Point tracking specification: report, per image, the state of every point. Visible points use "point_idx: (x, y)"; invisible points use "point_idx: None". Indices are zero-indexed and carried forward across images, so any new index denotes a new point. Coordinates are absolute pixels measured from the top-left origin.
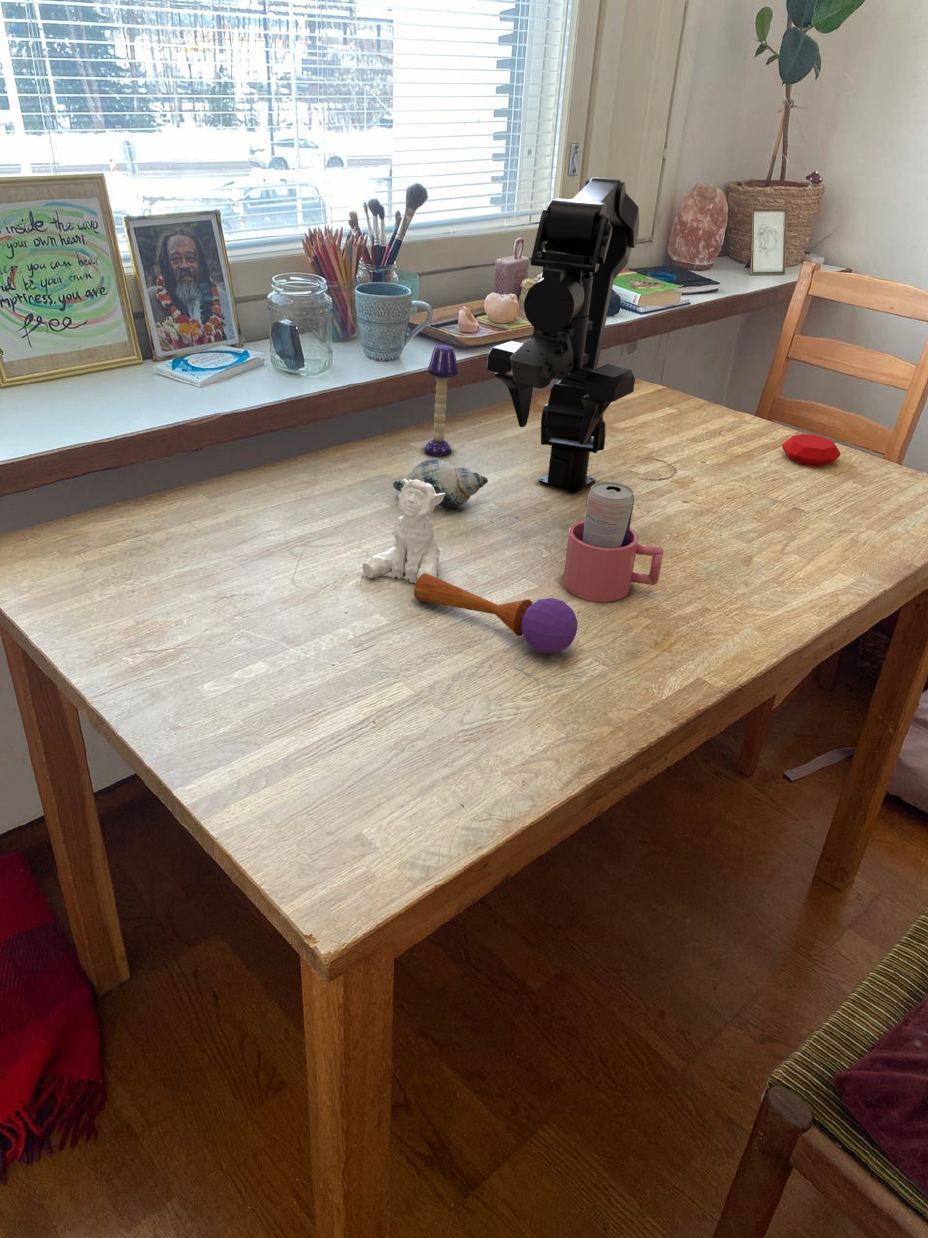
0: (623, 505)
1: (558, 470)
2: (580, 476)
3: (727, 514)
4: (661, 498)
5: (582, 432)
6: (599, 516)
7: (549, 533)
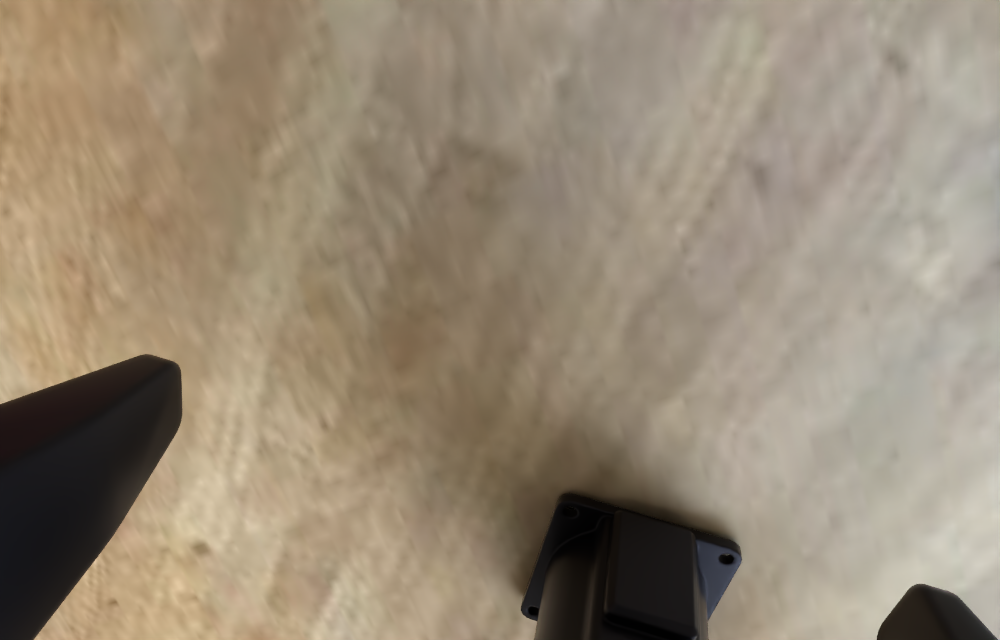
0: None
1: (643, 575)
2: (553, 580)
3: None
4: (274, 552)
5: (35, 417)
6: None
7: (547, 77)
